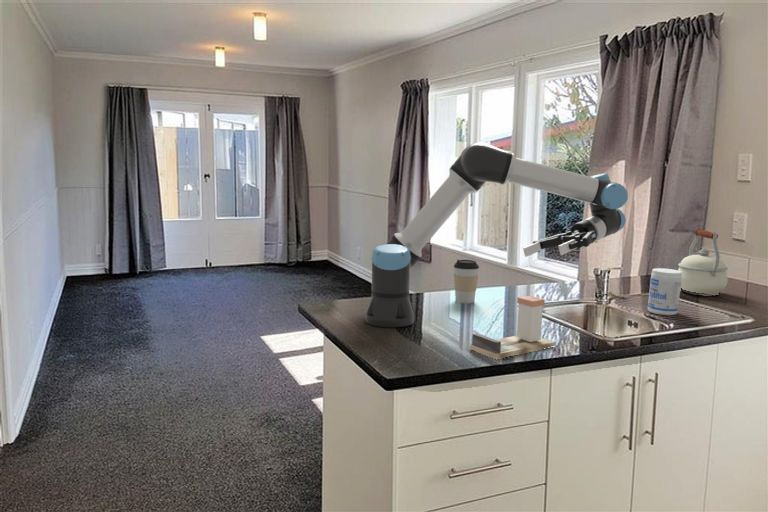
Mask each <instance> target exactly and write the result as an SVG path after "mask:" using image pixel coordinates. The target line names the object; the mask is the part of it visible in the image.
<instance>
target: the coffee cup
mask: <svg viewBox="0 0 768 512" xmlns="http://www.w3.org/2000/svg"><path fill="white" fill-rule="evenodd" d="M453 268H454V269H453V270H454V273H453V279H454V293H455V294H454V295H455V303H456V302H457V303H459V304H465V305H466V304H473V303H475V299H476V291H477V285H478V280H479V270H480V267H479V264H478V263H477V261H475V260H472V259H457V260H456V262H455V263H454V266H453Z"/></svg>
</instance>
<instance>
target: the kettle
mask: <svg viewBox="0 0 768 512" xmlns="http://www.w3.org/2000/svg"><path fill="white" fill-rule="evenodd" d="M699 237H702V238H706V239H711V240H712V247H713V250H714V254H715V255H714V256H713V255H709V254H710V251H709V250H708V249H707V248H705V247H703V248H702V249H700V250H699V251H698V253H699V254H693V253H694V248H695V246H696V244H697V242H698V240H699ZM718 237H719V235H718V233H716V232H711V231H708V230H705V229H704V230H703V229H700V228H695V230H694V240H693V241H692V242H691V245H690V247H689V253H688V255H687V256H686V257H684V258H683V259H682V260H681V261H680V262H679V263H678V264H677V265H678V271H681V272H682V279H681V288H682V289H683V290H686V291H690V292H696V293H706V294H716V293H719V292H720V293H721V292H722V291H723V290H724V289H725V288H726V287H727V285H728V274H727V271H728V270H729V269H728V267H727V266H726V264H725V262H724V261H723V260H722V259H721V258H720V257H721V256H720V253H719V252H720V251H719V248H718V244H717V240H718ZM681 288H680V289H681Z"/></svg>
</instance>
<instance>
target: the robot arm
mask: <svg viewBox="0 0 768 512" xmlns="http://www.w3.org/2000/svg"><path fill="white" fill-rule="evenodd" d="M448 172H449V174H448V175H449V176H448V177H447V178H446V179H445V180H444V182H443V183H442V184H441V185H440V187H438V189H437V190H436V191H435V192H434V193H433V194H432V196H431V197H430V198H429V200H428V201H426V203H425V204H424V205H423V206H422V208H421V209H420V210H419V211H418V213H417V214H416V215H415V216H414V217H413V218H412V220H410V222H409V223H408V224H407V225H406V227H405V228H404V229H403V230H402V231H401V232H396V233H393V234H392V236H391V237H390V239H388V241H387V242H386V243H385V244H381V245H377V246H376V247H374V248H373V250H372V255H371V265H372V266H371V296H370V297H371V298H370V300H369V303H368V306H367V308H366V311H365V316H364V317H365V323H366V324H368V325H371V326H375V327H379V328H403V327H409V326H411V325H413V324H414V322H415V314H414V311H413V307H412V303H411V300H410V275H411V269H412V268H413V267H414V266H415V265H416V263H418V261H419V260H420V259H421V258H422V257H423V256H422V255H423V254H422V250H423V248H424V247H425V246H426V245H427V244H428V242H429V241H430V240H431V239H432V238H433V237H434V235H435V234H437V232H438V231H439V229H441V227H442V226H443V225H444V224H445V222H447V220H448V219H449V218H450V217H451V216H452V215H453V214H454V212H455V211H456V210H457V209H458V208H459V206H460V205H461V204H462V203H463V202H464V201H465V200H466V198H467V197H468V196H469V195H470V194H472V193H477V192H479V190H480V189H481V188H482V187H483V186H484V185H485V183H486V182H488V183H489V182H490V183H496V184H500V185H505V184H508V183H510V184H513V185H518V186H521V187H526V188H530V189H534V190H537V191H541V192H545V193H550V194H552V195H557V196H561V197H563V198H564V197H565V198H568V199H571V200H576V201H581V202H583V203H584V202H585V203H588V204H589V209H590V212H591V213H590V214H591V216H590V217H588V218H585V219H583V220H581V221H578V222H576V223H574V224H572V226H571V228H570V230H569V231H565V233H558V234H555V235H552V236H551V235H550V236H548V237H545V238H542V239H538V240H534V241H532V244H529V245H527V246H525V247H522V250H523V253H524V257H530V256H532V255H534V254H536V253H541V252H542V250H544V249H545V250H546V249H548V248H549V249H550V248H553V247H556V246H558V247H557V248H558V250H559V251H558V252H559V255H560V256H563V255H566V254H567V253H570V252H572V251H574V250H578V249H579V248H580V249H581V248H583V247H585V248H588V247H589V246H590V245H591V244H593V243H598V241H599V240H602V239H603V238H606V237H608V236H612V235H615V234H616V233H617V232H619V231H621V230H622V229H623V228H624V227H625V225H626V223H627V222H626V215H625V213H624V212H623V211H622V210H621V209H620V208H622V207H623V206H624V205H626V203H627V201H628V198H629V194H628V192H629V191H628V190H627V189H626V187H625V186H624V185H622V184H621V183H618V182H612V181H611V179H610V177H609V174H608V173H599V174H596V175H595V174H594V175H591V176H589V175H584V174H581V173H576V172H573V171H569V170H567V169H566V170H565V169H561V168H558V167H553V166H550V165H547V164H544V163H543V164H542V163H538V162H535V161H532V160H527V159H522V158H518V157H516V156H515V155H514V153H513V152H511V151H510V152H509V151H507V150H503V149H501V148H498V147H496V146H494V145H491V144H489V143H486V142H476V143H472V144H469V145H468V146H466V147H465V148H464V149H463V150H462V151H461V153H460V155H459V157H458V158H457V159H456V160H455V161H454V163H452V165H451V166H450V167H449V171H448Z"/></svg>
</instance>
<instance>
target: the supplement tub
mask: <svg viewBox="0 0 768 512" xmlns="http://www.w3.org/2000/svg"><path fill="white" fill-rule="evenodd" d="M681 279H682V272H681V271H678V270H677V269H671V268H664V267H663V268H660V267H659V268H658V267H657V268H652V270H651V274H650V281H649V282H650V284H649V293H648V302H647V311H648V312H650V313H653V314H655V315H664V316H675V315H677V313H678V312H679V303H680V295H681Z"/></svg>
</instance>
